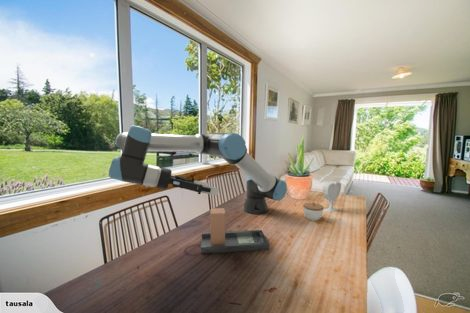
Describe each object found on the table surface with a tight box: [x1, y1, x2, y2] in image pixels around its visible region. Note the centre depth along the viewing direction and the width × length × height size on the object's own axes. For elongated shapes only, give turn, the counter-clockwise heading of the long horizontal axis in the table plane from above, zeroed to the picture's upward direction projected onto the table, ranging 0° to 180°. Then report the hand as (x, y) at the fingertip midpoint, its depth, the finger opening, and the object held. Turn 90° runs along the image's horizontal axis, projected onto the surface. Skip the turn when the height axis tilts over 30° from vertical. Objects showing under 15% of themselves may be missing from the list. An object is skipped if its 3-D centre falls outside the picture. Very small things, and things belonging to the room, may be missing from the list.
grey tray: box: [200, 229, 270, 254], centre depth 94 cm, size 28×13×2 cm, turn 97°
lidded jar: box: [303, 202, 325, 222], centre depth 123 cm, size 11×11×9 cm
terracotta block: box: [210, 207, 226, 245], centre depth 93 cm, size 6×6×14 cm
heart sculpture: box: [322, 180, 342, 214], centre depth 137 cm, size 16×5×18 cm, turn 126°
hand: (213, 189), depth 85 cm, fingers open, 13 cm apart
